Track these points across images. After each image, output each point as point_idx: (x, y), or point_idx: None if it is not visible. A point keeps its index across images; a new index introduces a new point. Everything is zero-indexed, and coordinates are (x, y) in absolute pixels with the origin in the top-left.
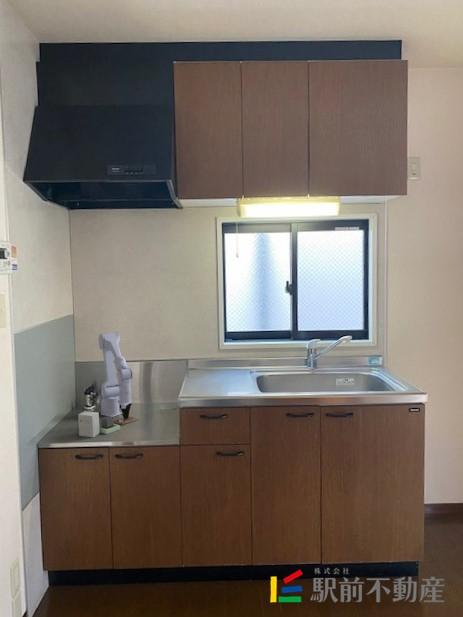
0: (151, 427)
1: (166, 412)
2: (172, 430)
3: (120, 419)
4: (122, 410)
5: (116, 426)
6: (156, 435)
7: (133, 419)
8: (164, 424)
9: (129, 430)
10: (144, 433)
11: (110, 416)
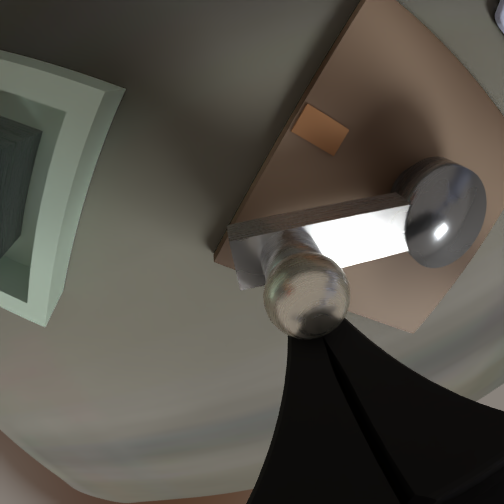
0: (220, 448)
1: (487, 381)
2: (199, 494)
3: (260, 257)
4: (273, 456)
5: (2, 303)
6: (105, 474)
7: (408, 299)
8: None
9: (95, 369)
10: (97, 444)
11: (501, 9)
